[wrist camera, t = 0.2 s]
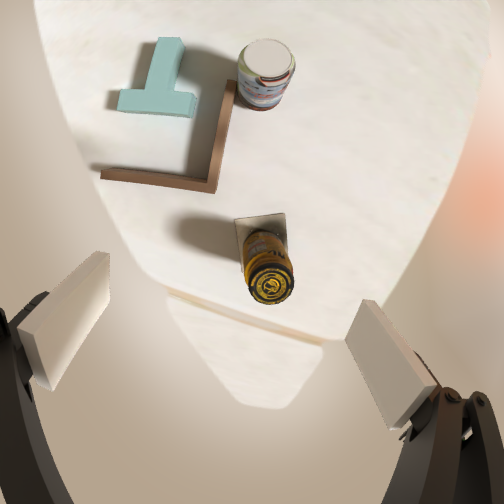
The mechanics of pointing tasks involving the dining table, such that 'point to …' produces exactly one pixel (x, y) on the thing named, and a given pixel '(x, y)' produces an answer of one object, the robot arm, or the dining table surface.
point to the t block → (160, 85)
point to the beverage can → (264, 73)
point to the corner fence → (184, 181)
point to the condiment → (265, 257)
